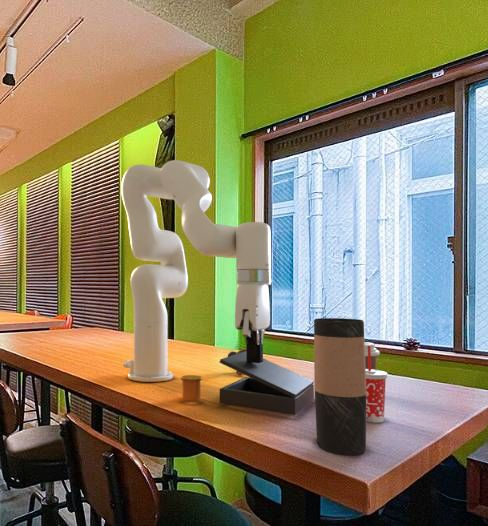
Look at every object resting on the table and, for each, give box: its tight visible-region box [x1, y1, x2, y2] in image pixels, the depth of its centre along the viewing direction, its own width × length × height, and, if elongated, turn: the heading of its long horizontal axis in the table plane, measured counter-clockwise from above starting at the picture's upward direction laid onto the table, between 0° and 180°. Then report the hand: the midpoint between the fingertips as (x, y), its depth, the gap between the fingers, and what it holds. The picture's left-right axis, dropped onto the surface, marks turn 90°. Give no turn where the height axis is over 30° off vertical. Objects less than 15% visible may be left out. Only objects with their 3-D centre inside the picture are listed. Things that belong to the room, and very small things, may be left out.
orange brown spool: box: [180, 374, 203, 402], centre depth 96 cm, size 5×5×6 cm
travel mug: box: [313, 317, 367, 456], centre depth 70 cm, size 8×8×20 cm
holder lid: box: [219, 351, 314, 398], centre depth 95 cm, size 17×15×1 cm
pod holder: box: [219, 376, 315, 416], centre depth 94 cm, size 16×15×4 cm
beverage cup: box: [366, 345, 388, 424], centre depth 85 cm, size 6×6×14 cm
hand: (254, 361), depth 96 cm, fingers closed
